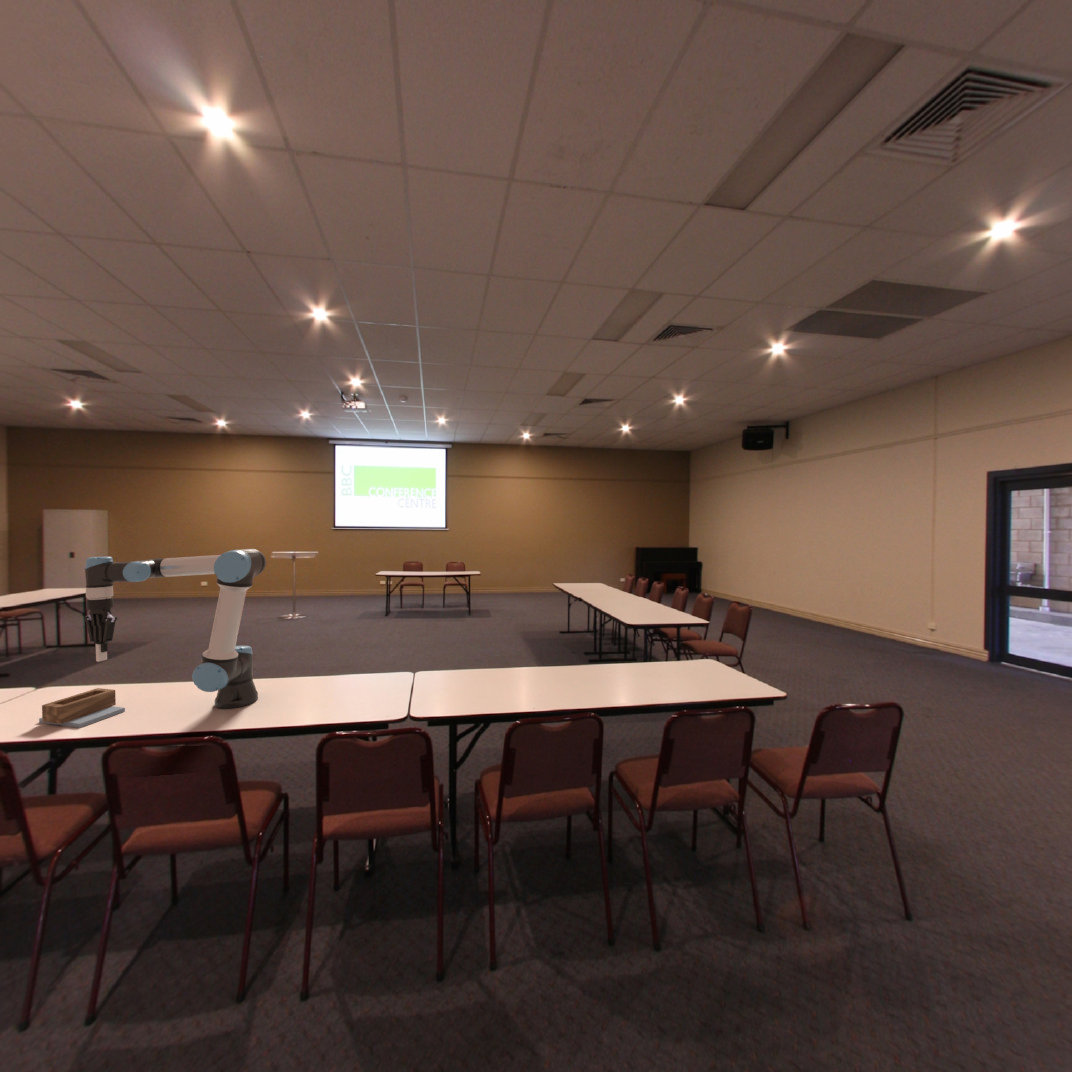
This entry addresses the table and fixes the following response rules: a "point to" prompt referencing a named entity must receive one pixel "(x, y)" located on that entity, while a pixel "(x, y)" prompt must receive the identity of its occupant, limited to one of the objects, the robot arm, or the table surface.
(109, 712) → the blue-grey board with posts
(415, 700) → the table surface
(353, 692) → the table surface
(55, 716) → the frame
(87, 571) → the robot arm
